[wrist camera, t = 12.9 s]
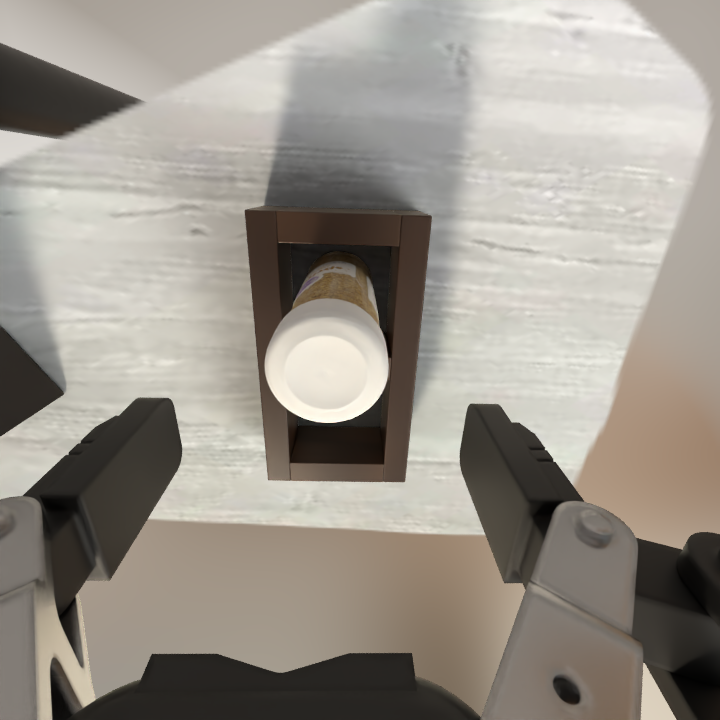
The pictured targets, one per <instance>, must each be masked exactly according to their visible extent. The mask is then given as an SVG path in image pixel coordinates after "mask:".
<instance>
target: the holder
mask: <svg viewBox="0 0 720 720" xmlns="http://www.w3.org/2000/svg"><path fill="white" fill-rule="evenodd" d="M245 219H246V231H247V242H248V254H249V265H250V277H251V288H252V300H253V311H254V323H255V334H256V346H257V357H258V369H259V380H260V392H261V403H262V415H263V426H264V438H265V449H266V461H267V472H268V480H285V481H290V480H291V481H349V482H405V478H406V468H407V458H408V448H409V438H410V428H411V418H412V408H413V399H414V389H415V379H416V369H417V359H418V349H419V339H420V329H421V320H422V310H423V300H424V290H425V280H426V270H427V260H428V250H429V240H430V231H431V221H432V216H430V215H428V214H425V213H422V212H420V211H409V210H379V209H348V208H316V207H285V206H261V207H256V208H252V209H247V210H245ZM291 243H301V244H335V245H368V246H391V261H390V277H389V293H388V309H387V325H386V332H382V333H383V336H384V339H385V342H386V347H387V354H388V364H389V370H388V378H387V382H386V385H385V388H384V390H383V392H382V406H381V422H380V427H329V426H298V416H297V415H296V414H294V413H292V412H291V411H289V410H288V409H287V408H285V407H284V406H283V405H282V404H281V403H280V402H279V401H278V400H277V398H276V397H275V396H274V394H273V393H272V391H271V389H270V387H269V385H268V382H267V378H266V375H265V356H266V351H267V348H268V345H269V343H270V341H271V338H272V336H273V334H274V332H275V330H276V329H277V327H278V325H279V324H280V322H281V321H282V319H283V318H284V317H285V316H286V315H287V314H288V313H289V312H290V311H291V310H292V307H293V288H292V264H291Z"/></svg>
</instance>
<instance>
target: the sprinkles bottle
mask: <svg viewBox="0 0 720 720" xmlns="http://www.w3.org/2000/svg"><path fill="white" fill-rule="evenodd" d="M388 370H389V364H388V354H387V347H386V342H385V339H384V336H383V333H382V331H381V329H380V327H379V317H378V310H377V305H376V300H375V295H374V290H373V281H372V277H371V274H370V271H369V269H368V267H367V266H366V264H365V263H364V262H363V261H362V260H361V259H360V258H359V257H357V256H355V255H353V254H351V253H346V252H341V251H335V252H331V253H327V254H325V255H323V256H321V257H320V258H318V259H316V261H315V262H314V263H313V264H312V265H311V267H310V269H309V271H308V273H307V277H306V279H305V280H304V282H303V284H302V286H301V288H300V291H299V293H298V295H297V297H296V299H295V301H294V303H293V307H292V310H291V311H290V312H289V313H288V314H287V315H286V316H285V317H284V318H283V319H282V321H281V322H280V324H279V325H278V327H277V329H276V330H275V332H274V334H273V336H272V338H271V341H270V343H269V345H268V348H267V351H266V356H265V375H266V378H267V382H268V385H269V387H270V389H271V391H272V393H273V394H274V396H275V397H276V398H277V400H278V401H279V402H280V403H281V404H282V405H283V406H284V407H285V408H287V409H288V410H289V411H291V412H292V413H294V414H296V415H297V416H300V417H302V418H304V419H307V420H311V421H315V422H322V423H334V422H341V421H345V420H349V419H352V418H354V417H357V416H359V415H360V414H362V413H364V412H365V411H366V410H368V409H369V408H370V407H371V406H373V404H374V403H375V402H376V401H377V400H378V398H379V397H380V395H381V394H382V392H383V390H384V388H385V385H386V382H387V378H388Z"/></svg>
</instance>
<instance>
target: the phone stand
mask: <svg viewBox="0 0 720 720" xmlns="http://www.w3.org/2000/svg"><path fill="white" fill-rule="evenodd" d="M62 395H64V393H63V392H62V391H61V390H60V389H59V388H58V387H57V386H56V385H55V384H54V382H53V381H52V380H51V379H50V378H49V377H48V376H47V375H46V374H45V373H44V372H43V371H42V370H41V369H40V368H39V367H38V366H37V364H36V363H35V362H34V361H33V360H32V359H31V358H30V357H29V356H28V355H27V354H26V353H25V352H24V351H23V350H22V349H21V348H20V347H19V345H18V344H17V343H16V342H15V341H14V340H13V339H12V338H11V337H10V336H9V335H8V334H7V333H6V332H5V331H4V330H3V329H2V327H0V436H2V435H3V434H5V433H6V432H8V431H9V430H11V429H12V428H14V427H15V426H17V425H18V424H20V423H21V422H23V421H24V420H26V419H27V418H29V417H30V416H32V415H33V414H35V413H36V412H38V411H39V410H41V409H43V408H44V407H46V406H47V405H49V404H50V403H52V402H53V401H55V400H56V399H58V398H59V397H61V396H62Z"/></svg>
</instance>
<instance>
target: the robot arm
mask: <svg viewBox="0 0 720 720" xmlns="http://www.w3.org/2000/svg"><path fill="white" fill-rule="evenodd" d="M181 457H182V444H181V439H180V434H179V429H178V424H177V419H176V414H175V409H174V405H173V402H172V401H171V399H169V398H137V399H136V400H134V401H133V402H132V403H131V404H130V405H129V406H128V407H127V408H126V409H125V410H124V411H123V412H122V413H121V414H120V415H119V416H115V417H113V418H111V419H109V420H107V421H106V422H104V423H102V424H100V425H98V426H97V427H95V428H94V429H93V430H92V431H91V432H90V433H89V434H88V435H87V436H85V437H84V438H83V439H82V440H81V443H80V444H77V445H76V446H75V447H74V448H73V449H72V450H71V451H70V452H69V455H65V456H64V457H63V458H62V459H61V460H60V461H59V462H58V463H57V464H56V465H55V466H54V467H53V468H52V469H51V470H49V471H48V472H47V473H46V474H45V475H44V476H43V477H42V478H41V479H40V480H39V481H38V482H37V483H36V484H35V485H34V486H32V487H31V488H30V489H29V490H28V491H27V492H26V493H25V494H24V495H23V496H17V497H9V498H5V499H1V500H0V720H640V718H641V697H642V696H641V695H642V675H643V663H645V664H646V665H647V668H648V669H649V671H650V673H651V675H652V676H653V678H654V680H655V682H656V684H657V685H658V687H659V689H660V691H661V692H662V694H663V696H664V698H665V700H666V701H667V703H668V705H669V707H670V709H671V710H672V712H673V714H674V716H675V717H676V719H677V720H720V534H715V533H709V532H700V533H695V534H693V535H691V536H690V537H689V539H688V540H687V542H686V544H685V546H684V548H683V550H681V549H677V548H673V547H669V546H666V545H662V544H658V543H654V542H650V541H646V540H642V539H639V538H636V537H635V536H634V534H633V532H632V531H631V529H630V528H629V527H628V526H627V525H626V524H625V523H624V522H623V521H622V520H621V519H619V518H618V517H617V516H615V515H614V514H612V513H610V512H609V511H607V510H605V509H603V508H601V507H599V506H596V505H593V504H590V503H586V502H584V500H583V499H582V498H581V496H580V495H579V494H578V492H577V491H576V489H575V488H574V487H573V485H572V484H571V483H570V481H569V480H568V478H567V477H566V476H565V474H564V473H563V472H562V470H561V469H560V468H559V466H558V465H557V464H556V462H553V458H552V457H551V455H550V454H549V453H548V451H547V450H545V447H544V446H543V445H542V443H541V442H540V440H539V439H538V438H537V436H536V435H535V434H534V433H532V432H531V431H530V430H528V429H527V428H526V427H524V426H523V425H521V424H520V423H512V422H511V421H510V419H509V418H508V416H507V415H506V413H505V412H504V410H503V409H502V408H501V406H500V405H498V404H470V405H469V406H468V409H467V413H466V419H465V425H464V431H463V436H462V442H461V448H460V466H461V471H462V474H463V477H464V480H465V482H466V485H467V487H468V490H469V493H470V495H471V498H472V501H473V503H474V506H475V508H476V511H477V514H478V516H479V519H480V521H481V524H482V527H483V529H484V532H485V534H486V537H487V540H488V542H489V545H490V547H491V550H492V553H493V555H494V558H495V561H496V563H497V566H498V568H499V571H500V573H501V576H502V579H503V581H504V583H523V585H524V587H525V590H526V591H525V594H524V596H523V600H522V602H521V605H520V608H519V611H518V613H517V616H516V619H515V622H514V625H513V628H512V631H511V634H510V636H509V639H508V642H507V645H506V648H505V650H504V653H503V656H502V659H501V662H500V665H499V668H498V671H497V674H496V676H495V679H494V682H493V685H492V688H491V690H490V693H489V696H488V699H487V702H486V705H485V707H484V710H483V713H482V716H481V717H480V716H479V715H478V714H477V713H476V712H475V711H474V710H473V709H472V708H471V707H469V706H468V705H467V704H465V703H464V702H463V701H462V700H460V699H459V698H458V697H457V696H455V695H454V694H452V693H450V692H449V691H447V690H445V689H444V688H442V687H441V686H439V685H437V684H434V683H432V682H430V681H428V680H426V679H423V678H420V677H417V676H415V673H414V665H413V657H412V653H349V654H346V655H342V656H339V657H335V658H333V659H329V660H326V661H322V662H319V663H315V664H312V665H309V666H305V667H302V668H299V669H296V670H292V671H289V672H285V673H276V672H272V671H269V670H266V669H263V668H260V667H256V666H253V665H250V664H247V663H244V662H241V661H238V660H234V659H231V658H228V657H225V656H222V655H219V654H152V655H151V657H150V660H149V662H148V664H147V667H146V669H145V671H144V674H143V676H142V678H141V680H137V681H134V682H132V683H129V684H127V685H124V686H122V687H120V688H117V689H115V690H113V691H111V692H109V693H107V694H106V695H104V696H102V697H100V698H98V699H96V697H95V694H94V690H93V686H92V681H91V675H90V667H89V660H88V653H87V646H86V638H85V630H84V623H83V615H82V608H81V602H80V598H79V596H78V591H79V590H80V589H81V587H82V585H83V584H84V583H85V581H86V580H87V581H89V580H91V581H103V580H104V581H106V580H107V581H109V580H110V579H111V578H112V576H113V574H114V573H115V571H116V570H117V568H118V566H119V565H120V563H121V561H122V560H123V558H124V556H125V555H126V553H127V551H128V550H129V548H130V547H131V545H132V543H133V542H134V540H135V539H136V537H137V535H138V534H139V532H140V530H141V529H142V527H143V525H144V524H145V522H146V521H147V519H148V517H149V516H150V514H151V512H152V511H153V509H154V507H155V506H156V504H157V503H158V501H159V499H160V498H161V496H162V494H163V493H164V491H165V490H166V488H167V486H168V485H169V483H170V481H171V480H172V478H173V476H174V475H175V473H176V472H177V470H178V468H179V465H180V462H181Z"/></svg>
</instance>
